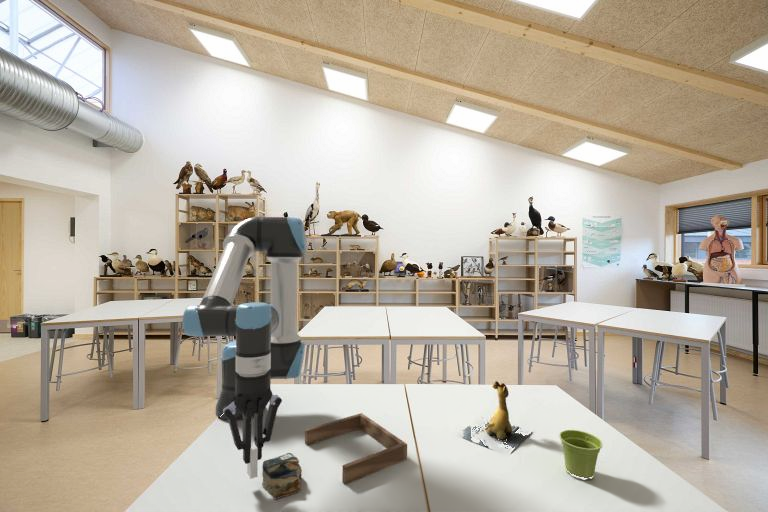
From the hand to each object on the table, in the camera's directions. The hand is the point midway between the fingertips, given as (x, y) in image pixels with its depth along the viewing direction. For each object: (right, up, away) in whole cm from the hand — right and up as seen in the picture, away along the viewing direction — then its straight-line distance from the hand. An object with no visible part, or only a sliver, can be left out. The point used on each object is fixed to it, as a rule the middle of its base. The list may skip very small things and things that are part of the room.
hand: (252, 474), depth 85 cm
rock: (+7, -3, +1) cm, 8 cm away
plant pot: (+78, -4, +7) cm, 79 cm away
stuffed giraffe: (+63, -4, +27) cm, 69 cm away
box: (+22, -3, +16) cm, 27 cm away
